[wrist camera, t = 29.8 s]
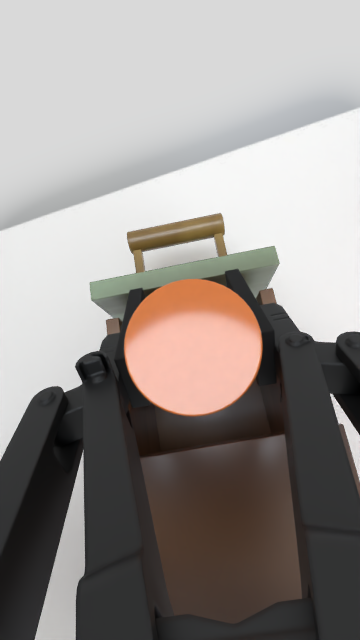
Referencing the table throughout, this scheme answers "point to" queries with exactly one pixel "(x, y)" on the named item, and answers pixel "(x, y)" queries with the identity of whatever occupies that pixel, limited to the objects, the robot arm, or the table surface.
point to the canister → (193, 347)
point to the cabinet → (226, 525)
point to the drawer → (255, 266)
